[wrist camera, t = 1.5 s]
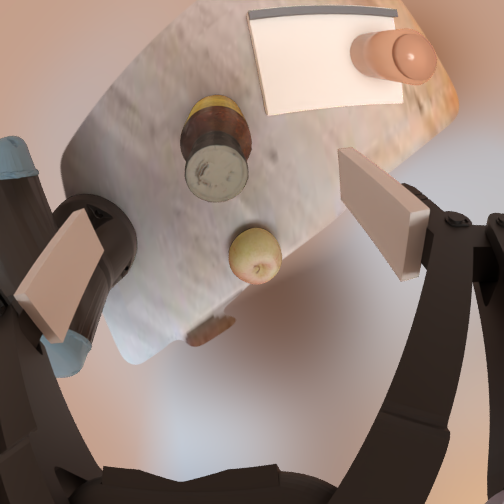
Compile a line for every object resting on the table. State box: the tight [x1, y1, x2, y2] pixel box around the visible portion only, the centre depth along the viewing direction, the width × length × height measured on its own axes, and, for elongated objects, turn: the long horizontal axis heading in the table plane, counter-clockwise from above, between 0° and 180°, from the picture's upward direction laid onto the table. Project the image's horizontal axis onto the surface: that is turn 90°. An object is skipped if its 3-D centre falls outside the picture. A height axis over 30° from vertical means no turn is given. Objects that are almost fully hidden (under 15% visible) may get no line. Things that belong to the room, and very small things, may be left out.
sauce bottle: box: [180, 95, 252, 202], centre depth 26 cm, size 7×6×20 cm
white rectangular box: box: [246, 5, 403, 116], centre depth 29 cm, size 18×13×4 cm
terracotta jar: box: [350, 29, 437, 85], centre depth 24 cm, size 6×6×10 cm
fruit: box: [229, 228, 282, 284], centre depth 42 cm, size 8×7×8 cm
